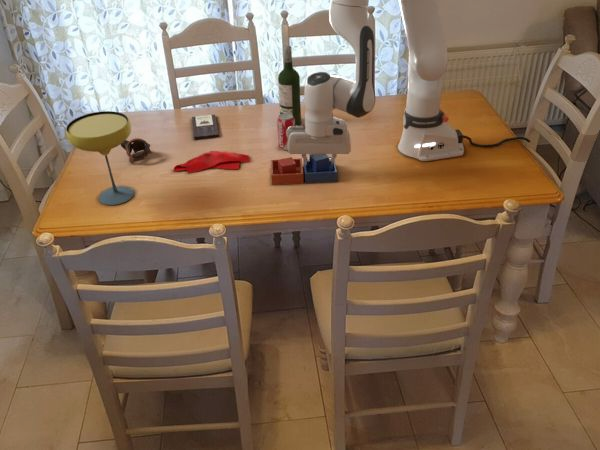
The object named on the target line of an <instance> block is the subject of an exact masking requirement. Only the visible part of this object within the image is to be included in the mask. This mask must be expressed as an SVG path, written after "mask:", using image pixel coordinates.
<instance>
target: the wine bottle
mask: <svg viewBox="0 0 600 450" xmlns="http://www.w3.org/2000/svg"><path fill="white" fill-rule="evenodd" d="M292 52H293V51H292V45H291V44H285V45H284V46H283V69H282V70H281V71H280V72H279V74H278V76H277V80H278V82H277V84H278V85H277V86H278V100H279V115H280V114H284V113H289V114H292V115H293V118H294V119H295V126H301V124H302V111H301V110H302V108H301V75H300V74H299V72H298V71H297V70H296V69H295V68H294V67H293V55H292Z"/></svg>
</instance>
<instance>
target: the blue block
mask: <svg viewBox="0 0 600 450" xmlns="http://www.w3.org/2000/svg"><path fill="white" fill-rule="evenodd" d="M329 157H330V156H328V154H309V158H310V168H311V169H312V170H313V171H314V172H325V171H329Z"/></svg>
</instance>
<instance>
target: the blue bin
mask: <svg viewBox="0 0 600 450" xmlns="http://www.w3.org/2000/svg"><path fill="white" fill-rule="evenodd" d="M328 157H329V158H332V156H328ZM302 159H303V158H302ZM302 162H303V176H304V182H305V184H315V183H317V184H318V183H333V182H334V183H336V182H338V170H337V165H336V159H335V160H334V161H333V165H329V171H325V172H314V171H313V170H312V169H311V168H310V165H305V160H304V159H303V160H302Z"/></svg>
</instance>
